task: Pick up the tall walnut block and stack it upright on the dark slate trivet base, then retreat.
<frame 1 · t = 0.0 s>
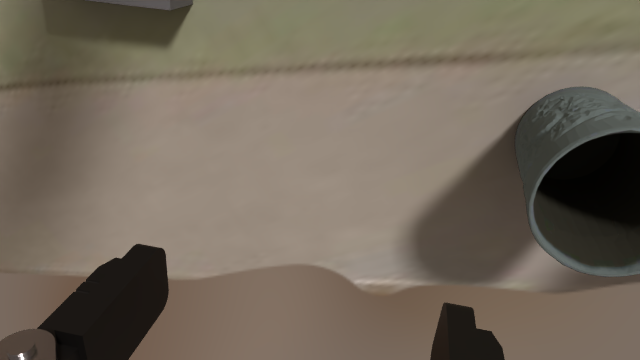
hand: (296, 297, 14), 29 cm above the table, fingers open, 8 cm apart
blue gray cup: (566, 136, 39), on the table
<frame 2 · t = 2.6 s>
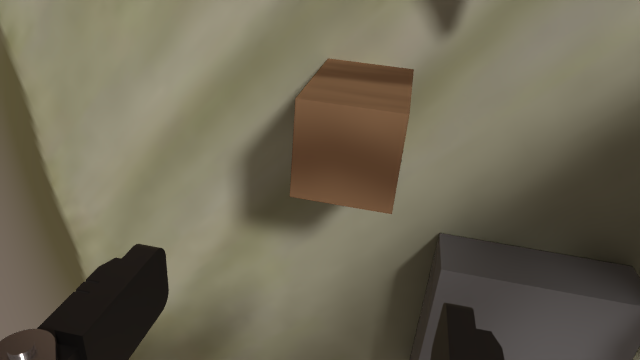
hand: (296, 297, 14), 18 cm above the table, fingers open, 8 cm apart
walnut block: (365, 105, 29), on the table
slate base: (508, 318, 34), on the table
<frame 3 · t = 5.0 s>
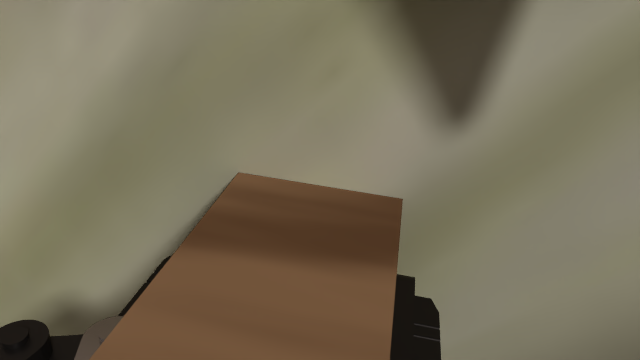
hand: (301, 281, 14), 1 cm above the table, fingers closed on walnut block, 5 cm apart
walnut block: (312, 253, 15), on the table, touching gripper
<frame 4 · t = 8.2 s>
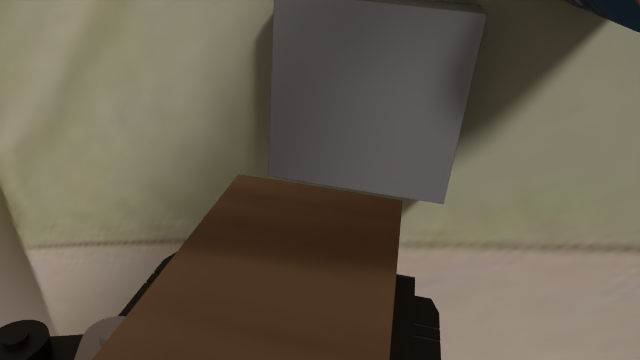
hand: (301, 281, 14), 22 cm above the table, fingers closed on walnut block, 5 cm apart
walnut block: (312, 255, 15), point 20 cm above the table, touching gripper
slate base: (370, 87, 33), on the table
when the fingers open (7 cm above the table, at t = 11.6 s): walnut block drops 1 cm, resting on slate base.
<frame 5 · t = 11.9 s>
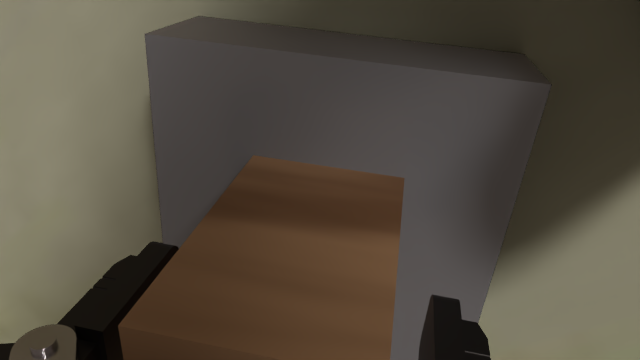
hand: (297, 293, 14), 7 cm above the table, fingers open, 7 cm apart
walnut block: (321, 230, 17), point 4 cm above the table, touching slate base
slate base: (338, 179, 20), on the table
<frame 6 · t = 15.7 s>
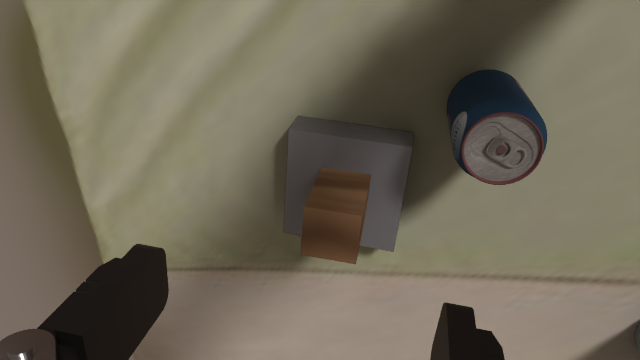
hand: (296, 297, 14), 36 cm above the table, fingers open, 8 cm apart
soda can: (483, 101, 46), on the table
walnut block: (343, 193, 48), point 4 cm above the table, touching slate base
slate base: (348, 175, 52), on the table
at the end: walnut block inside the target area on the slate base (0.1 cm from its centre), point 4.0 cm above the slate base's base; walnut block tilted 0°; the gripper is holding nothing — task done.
